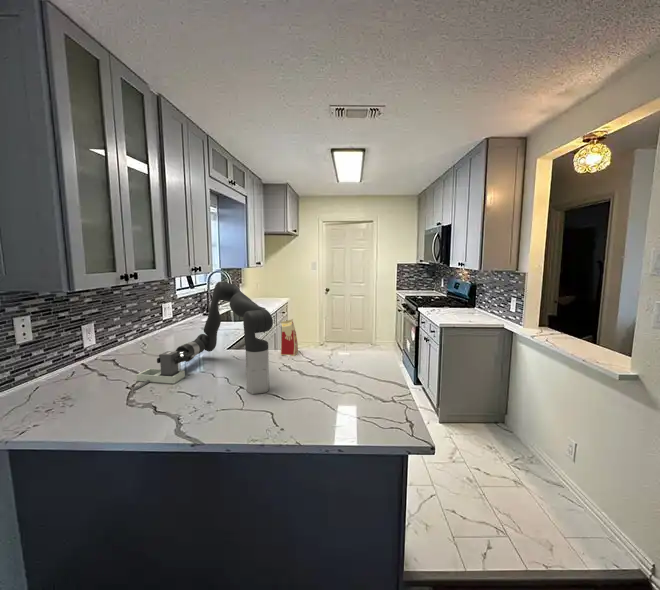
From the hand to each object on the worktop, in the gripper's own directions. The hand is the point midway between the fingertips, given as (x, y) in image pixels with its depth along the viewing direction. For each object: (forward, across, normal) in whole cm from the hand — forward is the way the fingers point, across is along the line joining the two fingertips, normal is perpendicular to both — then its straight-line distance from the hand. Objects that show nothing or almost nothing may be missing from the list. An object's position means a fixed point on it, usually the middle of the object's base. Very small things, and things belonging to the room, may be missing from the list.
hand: (166, 361), depth 148 cm
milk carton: (-51, +40, +9) cm, 65 cm away
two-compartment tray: (+3, -4, +9) cm, 11 cm away
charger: (-2, 0, +9) cm, 9 cm away
